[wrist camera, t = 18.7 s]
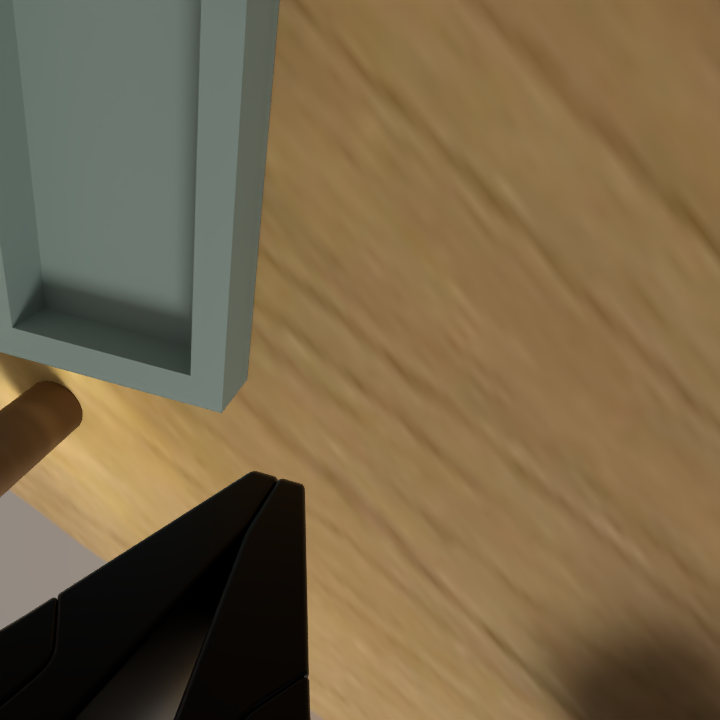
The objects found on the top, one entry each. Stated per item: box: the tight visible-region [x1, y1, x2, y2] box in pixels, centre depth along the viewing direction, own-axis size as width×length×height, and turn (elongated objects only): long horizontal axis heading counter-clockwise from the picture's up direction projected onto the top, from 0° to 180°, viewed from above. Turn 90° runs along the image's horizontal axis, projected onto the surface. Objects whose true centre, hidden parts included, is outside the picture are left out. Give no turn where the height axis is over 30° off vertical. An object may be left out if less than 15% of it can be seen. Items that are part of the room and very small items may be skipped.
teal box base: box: [0, 0, 279, 413], centre depth 18 cm, size 13×20×2 cm, turn 170°
